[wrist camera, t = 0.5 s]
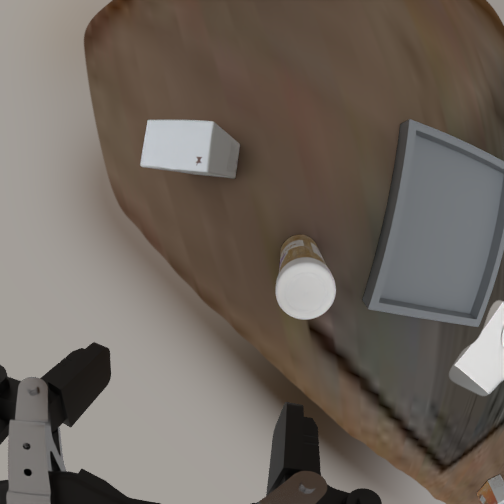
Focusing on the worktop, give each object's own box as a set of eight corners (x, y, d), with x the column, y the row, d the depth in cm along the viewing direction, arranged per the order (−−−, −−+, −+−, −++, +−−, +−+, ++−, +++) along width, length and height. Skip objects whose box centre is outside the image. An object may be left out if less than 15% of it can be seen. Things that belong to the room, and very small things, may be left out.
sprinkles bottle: (281, 232, 34) (277, 260, 21) (320, 235, 34) (340, 265, 21) (278, 271, 35) (272, 319, 22) (317, 274, 35) (332, 323, 22)
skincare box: (241, 143, 32) (216, 120, 21) (235, 179, 33) (208, 174, 22) (191, 138, 33) (146, 118, 21) (186, 173, 34) (138, 168, 22)
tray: (400, 124, 30) (409, 119, 27) (504, 169, 28) (517, 169, 25) (362, 299, 35) (368, 309, 32) (468, 318, 33) (478, 326, 30)
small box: (487, 479, 41) (498, 503, 30) (500, 473, 40) (511, 495, 30) (475, 493, 42) (485, 516, 32) (488, 487, 42) (498, 509, 31)
